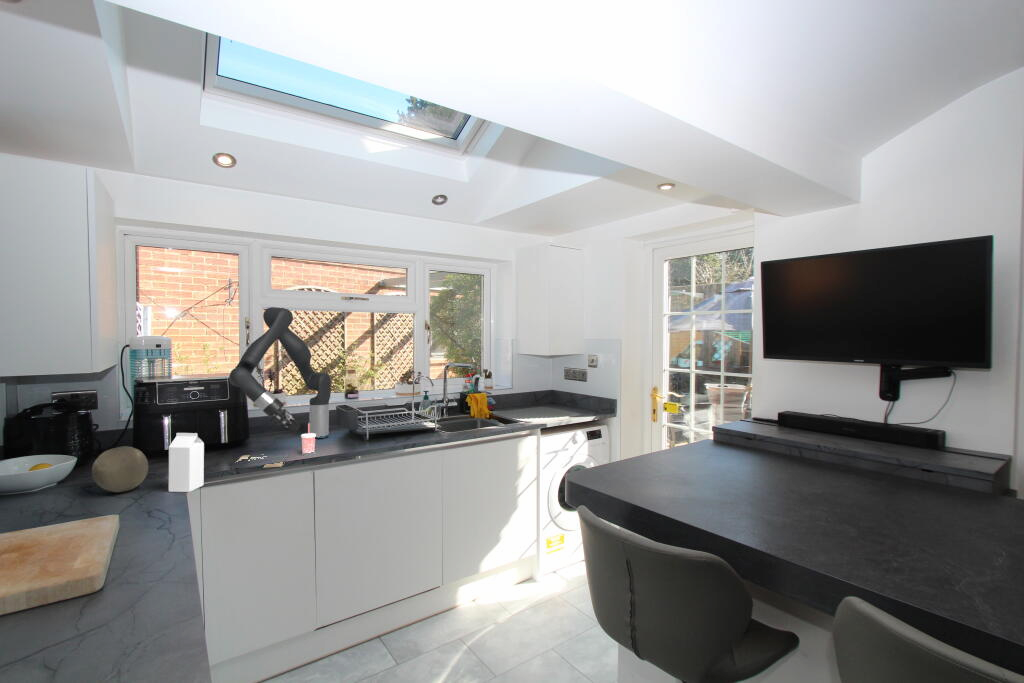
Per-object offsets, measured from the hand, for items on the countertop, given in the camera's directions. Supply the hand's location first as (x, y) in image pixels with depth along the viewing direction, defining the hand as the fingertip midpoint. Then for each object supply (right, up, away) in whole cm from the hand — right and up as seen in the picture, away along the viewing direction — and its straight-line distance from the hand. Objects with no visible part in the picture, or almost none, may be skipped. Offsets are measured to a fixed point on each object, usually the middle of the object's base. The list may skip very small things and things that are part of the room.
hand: (297, 429), depth 207 cm
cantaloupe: (-36, -12, -50) cm, 63 cm away
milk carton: (-17, -12, -46) cm, 50 cm away
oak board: (-10, -11, -11) cm, 19 cm away
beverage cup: (+4, -12, +1) cm, 12 cm away
